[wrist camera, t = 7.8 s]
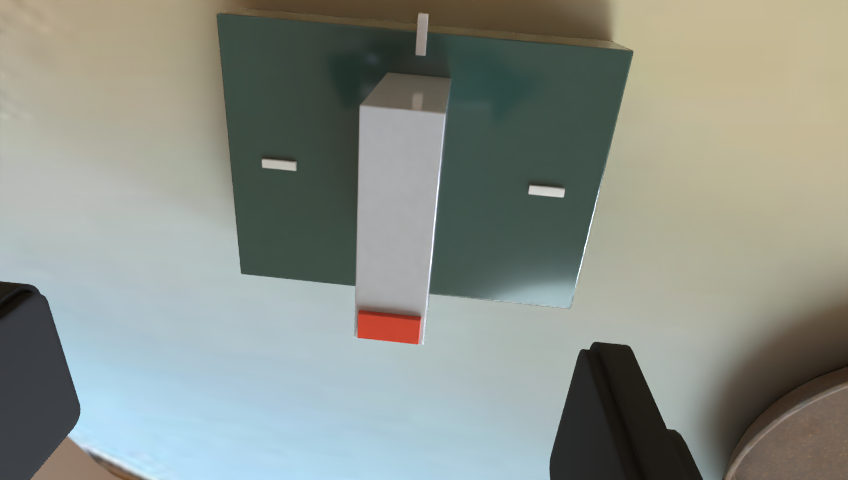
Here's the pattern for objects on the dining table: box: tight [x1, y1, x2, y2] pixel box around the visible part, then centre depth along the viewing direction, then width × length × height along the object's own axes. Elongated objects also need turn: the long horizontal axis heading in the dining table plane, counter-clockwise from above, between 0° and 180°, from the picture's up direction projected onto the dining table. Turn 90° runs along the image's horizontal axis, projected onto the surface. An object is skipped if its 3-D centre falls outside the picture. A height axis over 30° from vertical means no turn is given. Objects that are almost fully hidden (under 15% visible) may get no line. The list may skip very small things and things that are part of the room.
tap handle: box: [355, 72, 451, 345], centre depth 19 cm, size 8×2×6 cm, turn 175°
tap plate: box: [217, 8, 633, 309], centre depth 22 cm, size 15×12×3 cm
